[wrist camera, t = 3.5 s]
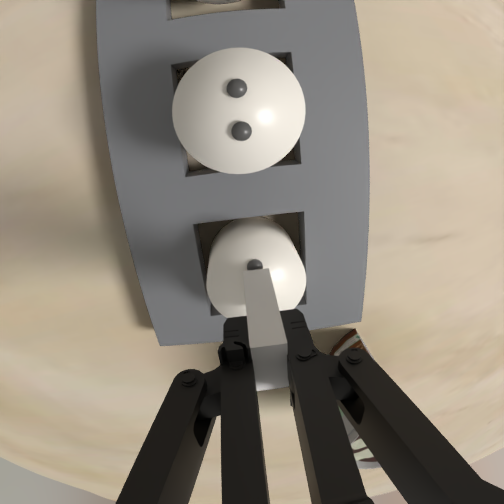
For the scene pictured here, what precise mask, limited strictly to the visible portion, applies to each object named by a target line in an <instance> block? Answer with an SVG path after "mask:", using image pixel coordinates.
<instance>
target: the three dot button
mask: <svg viewBox="0 0 504 504" xmlns="http://www.w3.org/2000/svg"><path fill="white" fill-rule="evenodd" d="M265 268H269V271H270V275H271V279H272V283H273V287H274V291H275V295H276V299H277V303H278V307H279V311H283V310H290V309H294V308H295V307H296V306H297V305H298V303H299V302H300V300H301V298H302V296H303V294H304V291H305V287H306V273H305V269H304V266H303V264H302V261H301V259H300V257H299V255H298V253H297V251H296V249H295V247H294V245H293V242H292V240H291V238H290V236H289V235H288V233H287V232H286V231H285V230H284V229H283V228H282V227H281V226H280V225H279V224H277V223H276V222H274V221H272V220H270V219H267V218H263V217H247V218H240V219H237V220H234V221H232V222H230V223H229V224H227V225H226V226H225V227H223V228H222V229H221V230H220V231H219V232H218V234H217V235H216V237H215V239H214V240H213V243H212V246H211V250H210V257H209V265H208V273H207V284H206V286H207V292H208V296H209V298H210V301H211V303H212V304H213V306H214V307H215V308H216V309H217V311H218V312H220V313H221V314H222V315H223V316H225V317H226V318H231V317H240V316H247V313H246V302H245V290H244V279H243V271H248V270H257V269H265Z"/></svg>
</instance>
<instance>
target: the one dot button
mask: <svg viewBox="0 0 504 504" xmlns="http://www.w3.org/2000/svg"><path fill="white" fill-rule="evenodd" d="M196 1H199V2H203V3H208V4H227V3H233V2H238V1H241V0H196Z"/></svg>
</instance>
